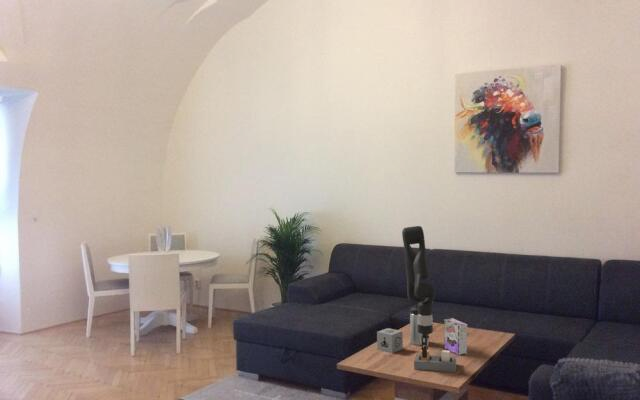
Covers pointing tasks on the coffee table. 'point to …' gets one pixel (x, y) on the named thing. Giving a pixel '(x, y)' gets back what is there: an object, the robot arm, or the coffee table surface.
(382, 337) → the icon cube
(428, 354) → the orange plug
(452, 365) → the grey slotted holder
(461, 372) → the coffee table surface
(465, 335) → the candy box
